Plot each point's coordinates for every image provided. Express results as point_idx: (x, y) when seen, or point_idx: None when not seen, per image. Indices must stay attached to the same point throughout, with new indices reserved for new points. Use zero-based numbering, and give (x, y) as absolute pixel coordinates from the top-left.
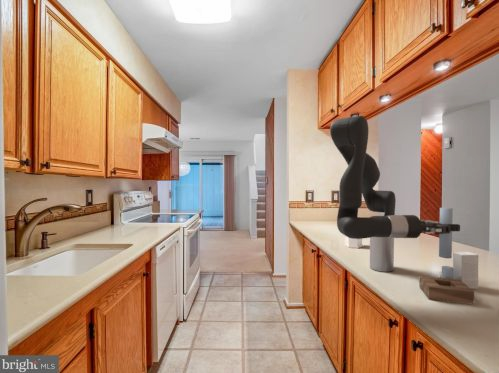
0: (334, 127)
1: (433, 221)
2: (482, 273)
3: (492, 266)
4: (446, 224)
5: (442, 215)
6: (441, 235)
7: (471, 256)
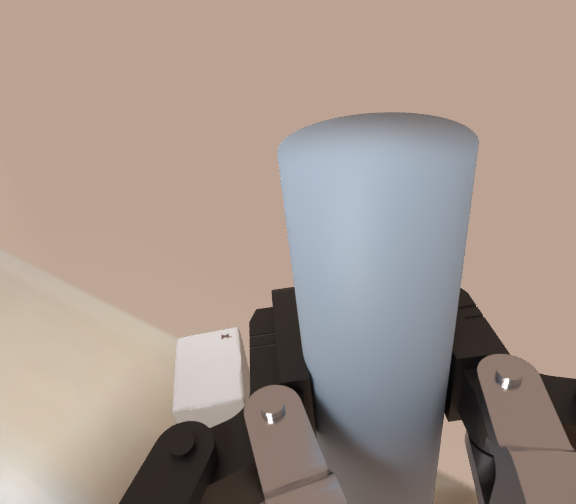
0: None
1: (254, 440)
2: (116, 341)
3: (69, 289)
4: (540, 382)
5: (432, 291)
6: (409, 499)
7: (242, 358)
